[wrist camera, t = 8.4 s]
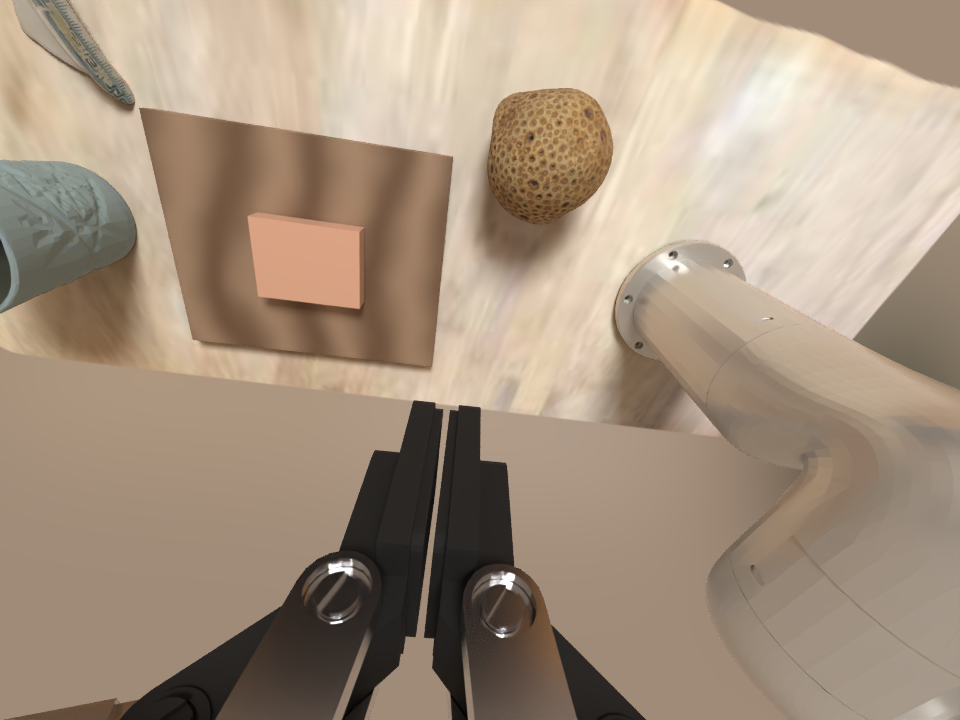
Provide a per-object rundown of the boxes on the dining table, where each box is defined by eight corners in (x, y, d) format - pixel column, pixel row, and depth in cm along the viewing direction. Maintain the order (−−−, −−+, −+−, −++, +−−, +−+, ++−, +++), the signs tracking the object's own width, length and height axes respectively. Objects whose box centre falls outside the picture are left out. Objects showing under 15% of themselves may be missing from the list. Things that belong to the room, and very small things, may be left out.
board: (453, 156, 34) (452, 157, 33) (432, 359, 44) (431, 366, 43) (152, 108, 32) (139, 107, 31) (201, 333, 42) (192, 339, 41)
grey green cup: (81, 281, 39) (-61, 337, 29) (-13, 172, 34) (-225, 191, 24) (169, 247, 37) (54, 292, 27) (84, 128, 33) (-97, 127, 22)
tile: (359, 231, 34) (247, 216, 33) (359, 308, 37) (258, 296, 36) (364, 226, 35) (258, 211, 35) (364, 301, 39) (267, 288, 38)
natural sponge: (565, 223, 37) (594, 252, 29) (472, 197, 36) (472, 218, 27) (606, 112, 33) (654, 106, 24) (501, 77, 32) (513, 57, 23)
